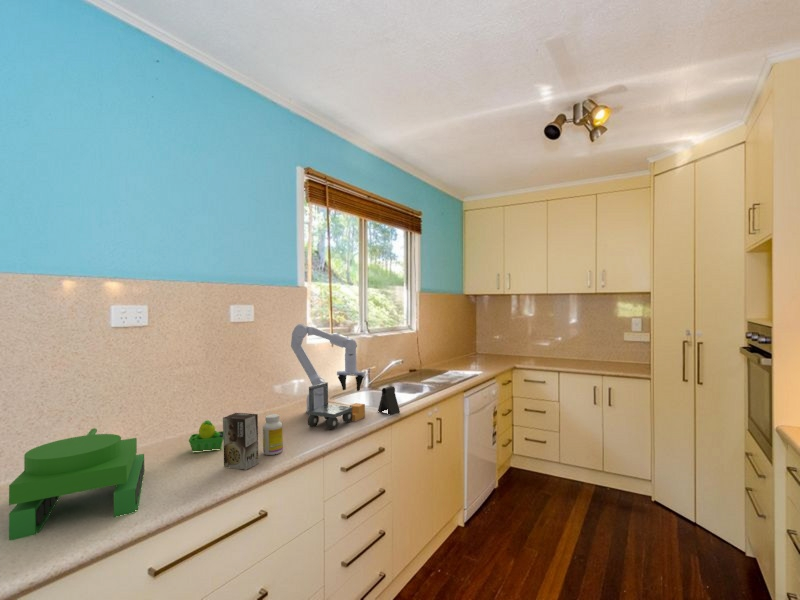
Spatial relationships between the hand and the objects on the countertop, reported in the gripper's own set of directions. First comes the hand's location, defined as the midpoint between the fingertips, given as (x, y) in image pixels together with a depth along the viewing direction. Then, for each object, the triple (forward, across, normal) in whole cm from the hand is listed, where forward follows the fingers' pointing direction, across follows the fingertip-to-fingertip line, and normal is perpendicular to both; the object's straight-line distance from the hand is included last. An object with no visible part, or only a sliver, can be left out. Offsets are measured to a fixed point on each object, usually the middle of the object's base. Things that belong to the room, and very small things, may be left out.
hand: (351, 390), depth 200 cm
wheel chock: (+10, +9, -15) cm, 20 cm away
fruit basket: (+10, -28, -65) cm, 72 cm away
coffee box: (+10, -6, -74) cm, 75 cm away
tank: (+10, -32, -103) cm, 108 cm away
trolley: (+4, +2, -26) cm, 26 cm away
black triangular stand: (+10, +20, -1) cm, 22 cm away
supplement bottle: (+10, -2, -62) cm, 62 cm away
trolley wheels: (+9, +2, -26) cm, 27 cm away
